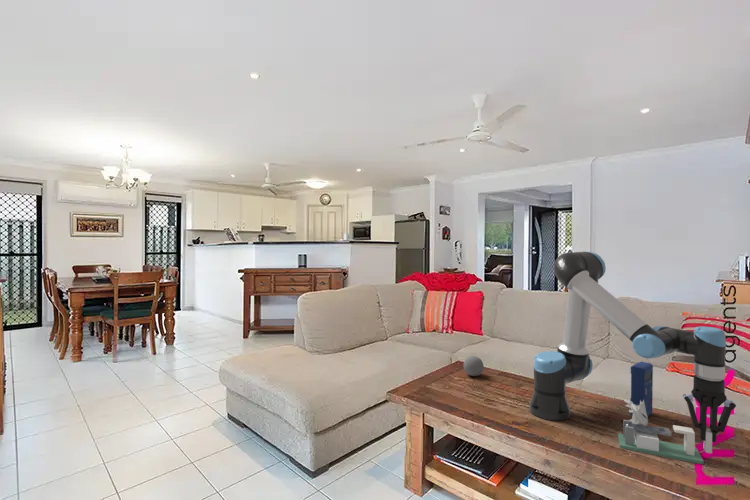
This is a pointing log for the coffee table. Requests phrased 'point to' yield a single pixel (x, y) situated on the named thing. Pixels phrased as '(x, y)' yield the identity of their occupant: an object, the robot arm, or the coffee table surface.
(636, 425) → the strap
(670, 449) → the board
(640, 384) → the electronic device
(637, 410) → the figurine
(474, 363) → the decorative ball
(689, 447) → the bracket
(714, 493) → the coffee table surface
